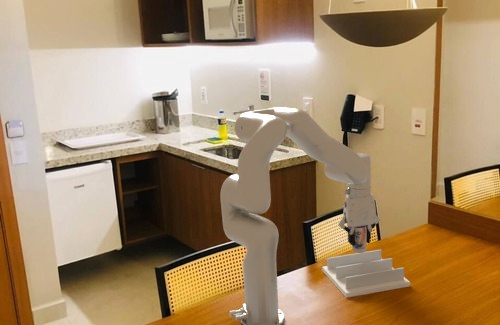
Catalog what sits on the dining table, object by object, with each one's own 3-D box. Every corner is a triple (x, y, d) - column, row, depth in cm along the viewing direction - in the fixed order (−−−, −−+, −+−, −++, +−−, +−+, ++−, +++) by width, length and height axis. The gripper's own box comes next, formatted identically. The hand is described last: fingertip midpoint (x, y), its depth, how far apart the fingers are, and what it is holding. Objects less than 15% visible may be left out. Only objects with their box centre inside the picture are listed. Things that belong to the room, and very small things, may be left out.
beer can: (350, 252, 174) (350, 218, 171) (354, 247, 178) (354, 214, 175) (364, 254, 172) (364, 220, 169) (368, 249, 176) (368, 215, 173)
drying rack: (346, 297, 162) (345, 281, 160) (322, 270, 180) (321, 256, 179) (410, 286, 166) (410, 270, 165) (380, 261, 185) (380, 246, 184)
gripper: (339, 197, 165) (340, 251, 169) (388, 191, 168) (387, 243, 173) (330, 191, 172) (331, 242, 176) (377, 185, 175) (377, 235, 180)
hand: (359, 242), depth 174 cm, fingers closed on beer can, 4 cm apart
